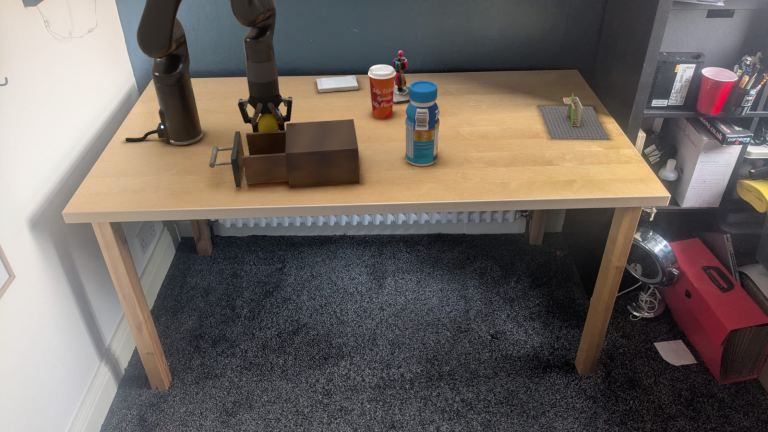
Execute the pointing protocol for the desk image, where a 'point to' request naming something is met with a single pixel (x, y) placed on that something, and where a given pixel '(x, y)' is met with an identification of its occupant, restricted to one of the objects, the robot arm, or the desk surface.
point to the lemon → (267, 123)
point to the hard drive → (337, 84)
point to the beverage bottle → (422, 124)
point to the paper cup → (382, 90)
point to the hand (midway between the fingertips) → (269, 135)
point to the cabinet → (322, 153)
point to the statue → (400, 80)
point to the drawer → (256, 157)
